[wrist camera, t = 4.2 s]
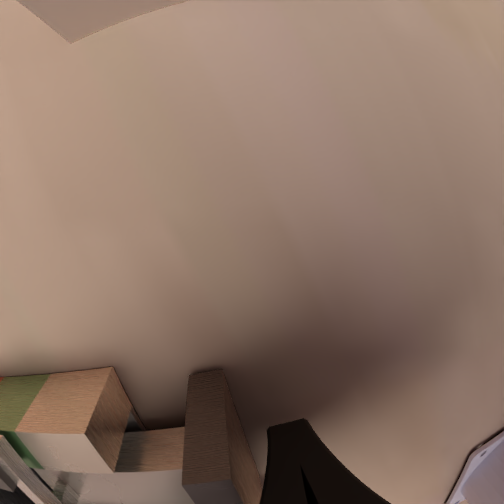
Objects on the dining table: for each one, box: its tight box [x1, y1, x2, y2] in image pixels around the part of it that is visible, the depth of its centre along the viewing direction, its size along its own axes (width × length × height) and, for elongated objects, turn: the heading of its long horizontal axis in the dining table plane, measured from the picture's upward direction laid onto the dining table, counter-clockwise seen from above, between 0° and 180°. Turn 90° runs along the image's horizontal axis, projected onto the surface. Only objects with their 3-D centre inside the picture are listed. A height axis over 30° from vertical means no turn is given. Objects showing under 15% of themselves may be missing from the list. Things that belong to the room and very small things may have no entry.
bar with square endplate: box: [0, 369, 262, 504], centre depth 7 cm, size 7×6×4 cm
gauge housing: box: [0, 367, 146, 504], centre depth 7 cm, size 7×7×4 cm
